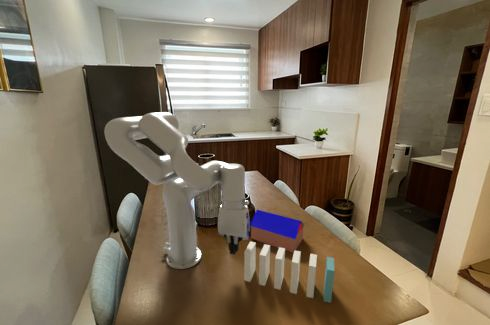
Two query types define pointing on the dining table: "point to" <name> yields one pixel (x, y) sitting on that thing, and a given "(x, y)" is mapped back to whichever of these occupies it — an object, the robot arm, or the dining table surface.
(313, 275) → the domino
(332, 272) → the domino
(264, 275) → the domino
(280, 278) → the domino
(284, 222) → the house
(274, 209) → the dining table surface
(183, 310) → the dining table surface
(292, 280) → the domino
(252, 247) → the domino
